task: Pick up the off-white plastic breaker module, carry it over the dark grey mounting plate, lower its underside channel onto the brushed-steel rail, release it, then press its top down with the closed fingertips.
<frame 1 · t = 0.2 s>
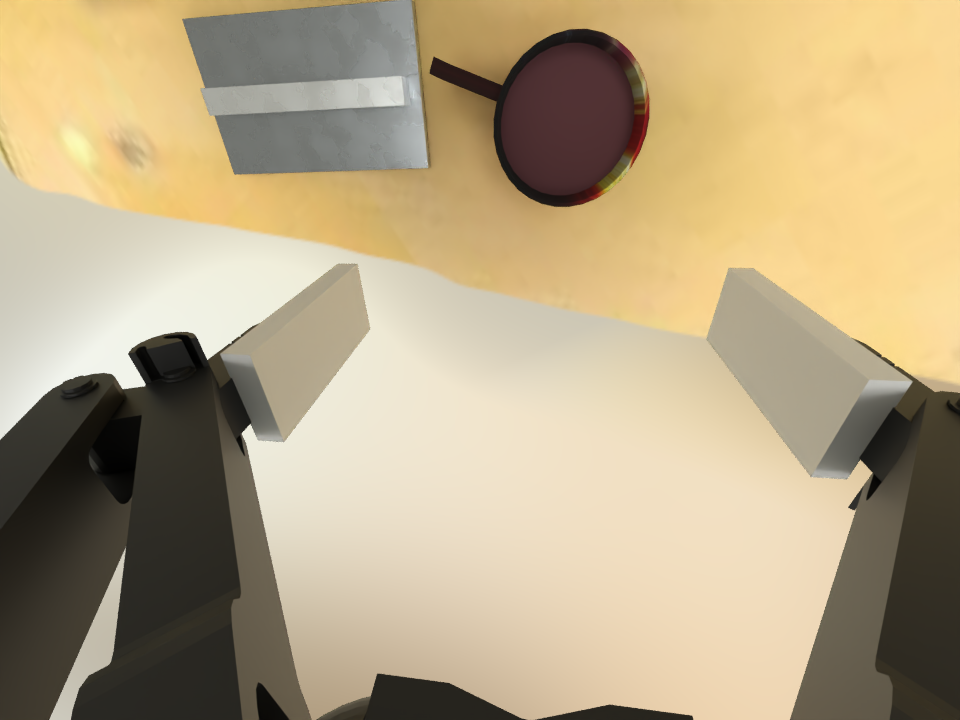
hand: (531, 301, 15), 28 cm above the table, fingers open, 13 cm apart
mug: (535, 125, 36), on the table
rail plate: (317, 97, 36), on the table
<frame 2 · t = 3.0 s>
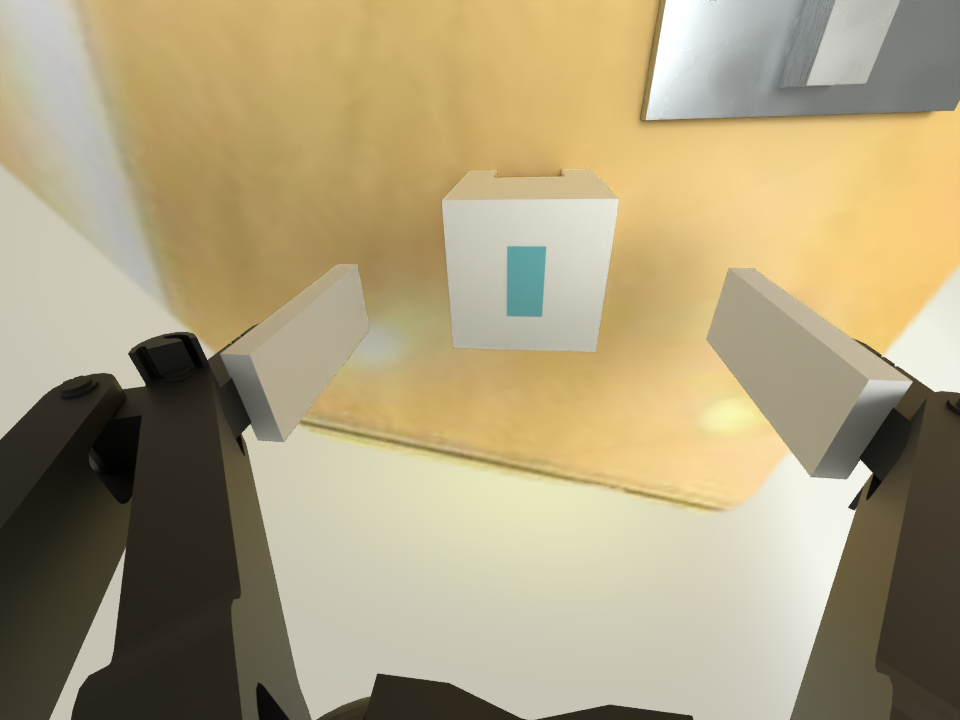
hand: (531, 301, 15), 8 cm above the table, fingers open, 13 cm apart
module: (526, 230, 21), on the table
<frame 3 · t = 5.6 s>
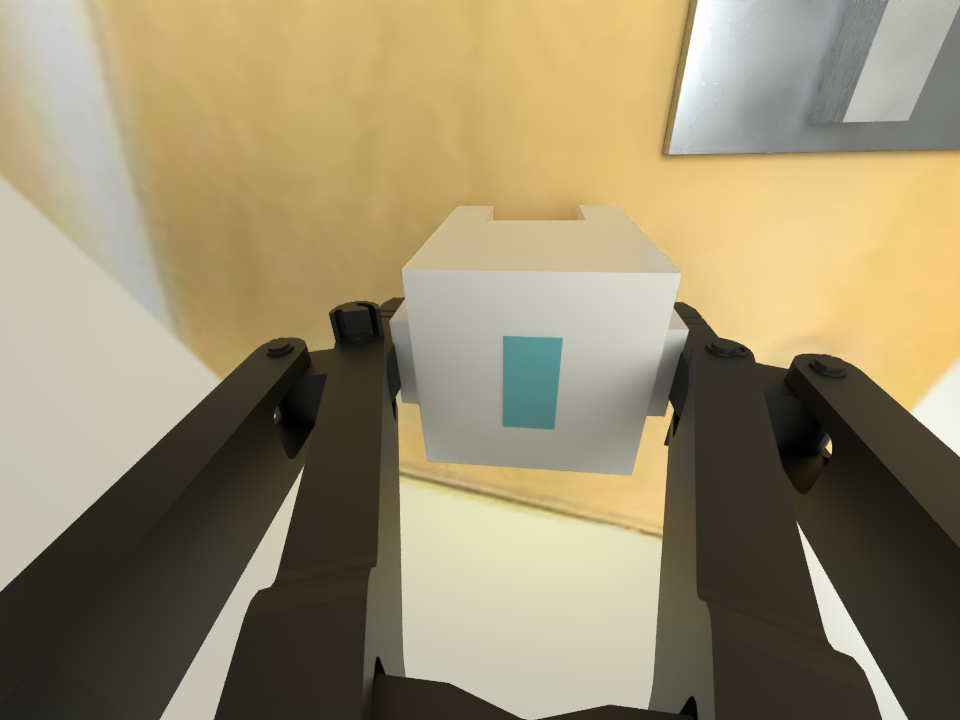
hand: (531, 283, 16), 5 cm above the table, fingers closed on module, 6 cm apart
module: (532, 281, 16), point 5 cm above the table, touching gripper
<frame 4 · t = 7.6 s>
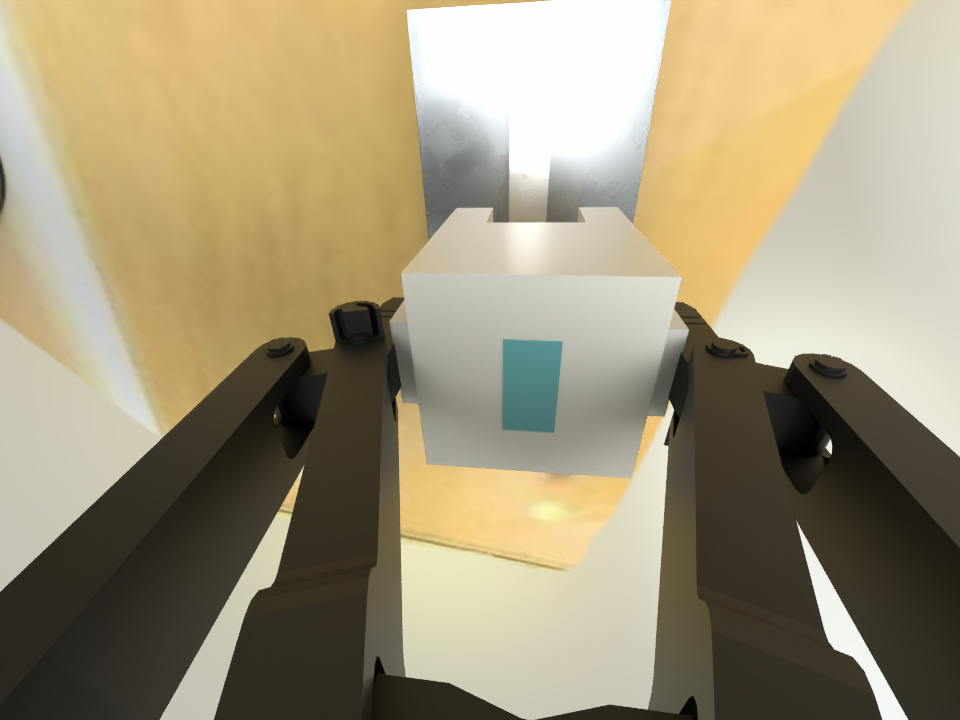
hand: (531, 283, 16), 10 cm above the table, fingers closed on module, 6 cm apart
rail plate: (527, 223, 24), on the table
module: (531, 283, 16), point 9 cm above the table, touching gripper
when the fingers open (1 cm above the table, at t = 9.5 s): module stays where it is, resting on rail plate.
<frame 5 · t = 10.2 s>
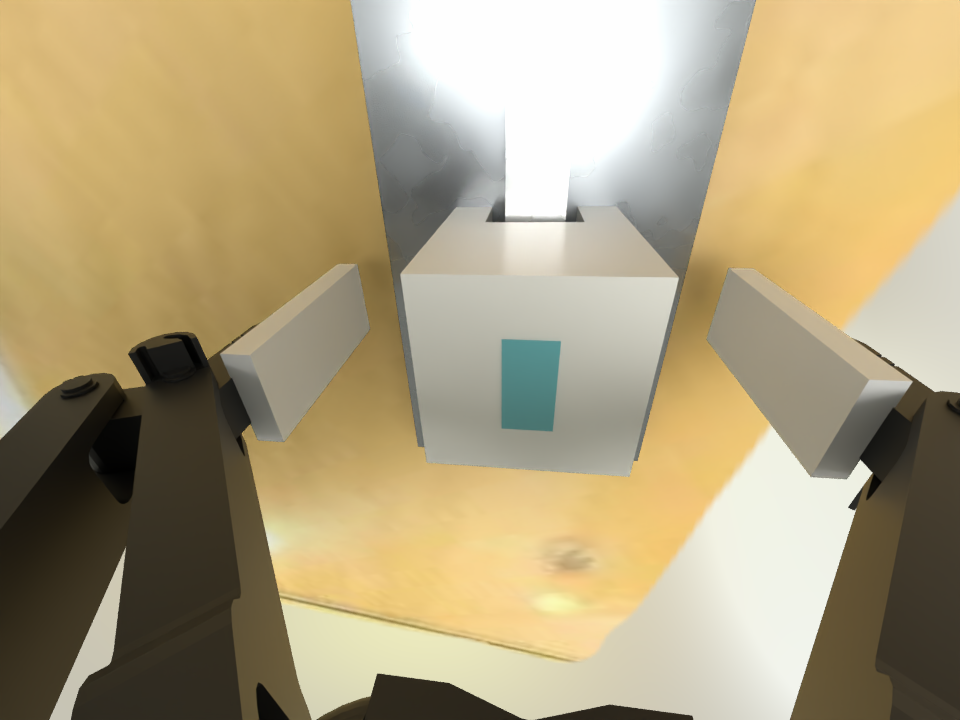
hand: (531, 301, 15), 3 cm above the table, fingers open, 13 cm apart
rail plate: (532, 271, 17), on the table
module: (531, 282, 16), point 1 cm above the table, touching rail plate
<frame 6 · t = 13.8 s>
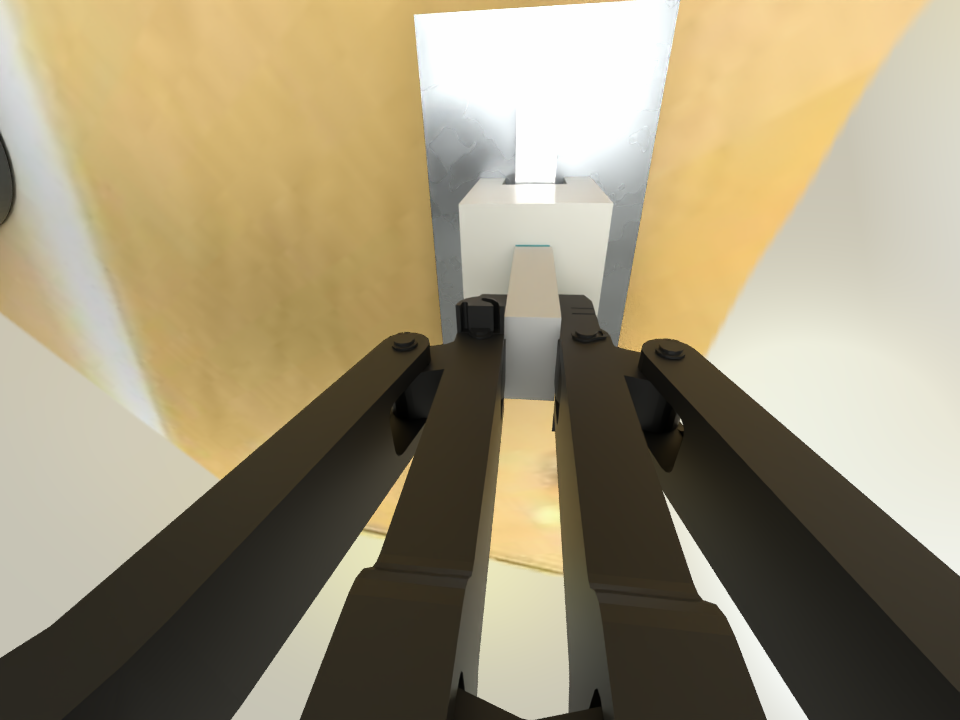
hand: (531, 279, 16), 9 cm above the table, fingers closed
rail plate: (532, 226, 24), on the table
module: (532, 232, 23), point 1 cm above the table, touching rail plate
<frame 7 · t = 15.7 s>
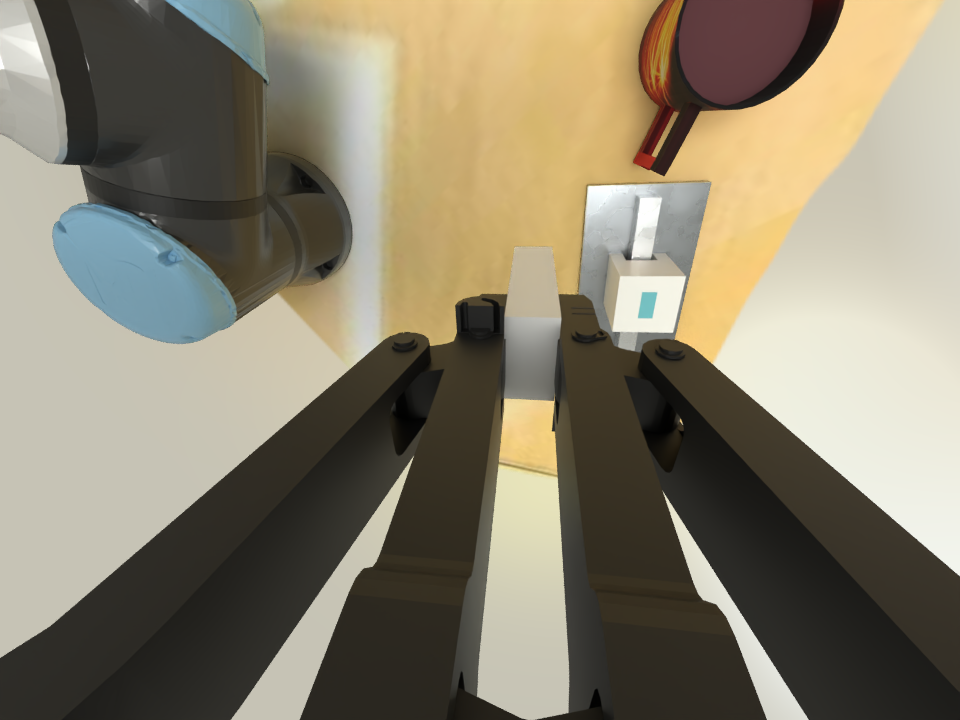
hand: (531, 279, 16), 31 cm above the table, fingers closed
mug: (690, 77, 36), on the table
rail plate: (631, 275, 46), on the table
module: (633, 279, 45), point 1 cm above the table, touching rail plate
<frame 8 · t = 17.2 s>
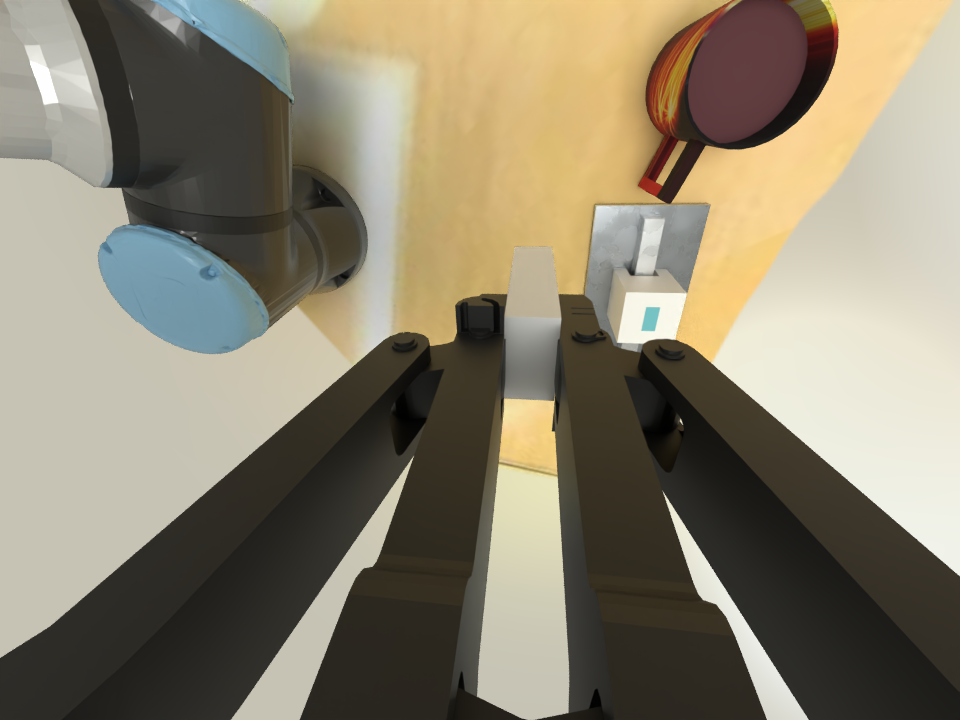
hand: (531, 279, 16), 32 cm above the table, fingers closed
mug: (693, 109, 39), on the table
rail plate: (634, 288, 49), on the table
module: (635, 292, 48), point 1 cm above the table, touching rail plate
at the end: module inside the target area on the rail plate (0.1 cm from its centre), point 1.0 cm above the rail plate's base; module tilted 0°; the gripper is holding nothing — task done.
